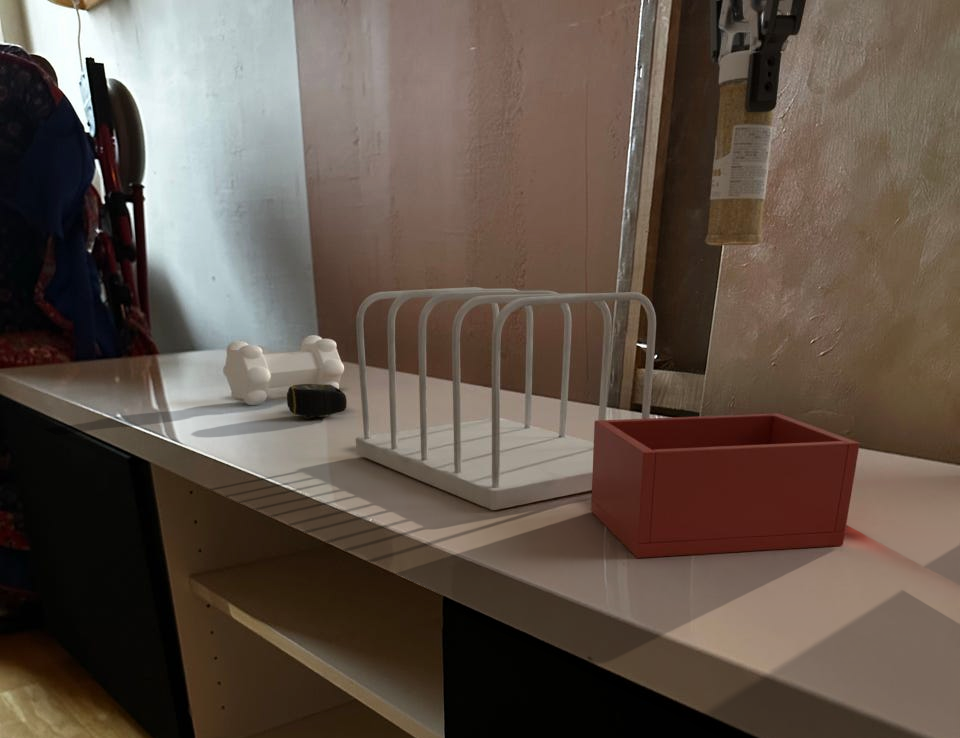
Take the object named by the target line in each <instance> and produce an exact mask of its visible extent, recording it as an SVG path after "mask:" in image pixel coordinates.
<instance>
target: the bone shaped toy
mask: <svg viewBox="0 0 960 738" xmlns="http://www.w3.org/2000/svg"><path fill="white" fill-rule="evenodd" d="M225 352H226V356H225V357H226V359H225V365H224V366H223V369H222V370H223V371H222V372H223V375H224V376H225V378H226V381H227V383H228V386H229V389H230V391H231V394H230V395H231V398H233V399H234V400H236V401H241V402H244V403H245V404H247V405H248V406H259V405H262V404H263V403H265V401H266V400H267V396H268V389H274V388H284V387H291V386H293V385H299V384H322V385H326V384H330V385H332V386H334V387H336V388H338V389H339V390H340V382H341V381H340V380H341V378H342V375H343V373H344V371H345V365H344V363H343V362H342V360H341V357H340V355H339V351H338V349H337V342H336V341H335V340H333V339H331V338H322V337H321V336H320V335H316V334H311V335H308V336H306V337H304V339H303V340H302V341H301V349H300V350H298V351H287V352H275V353H266V354H263V349H262V348H261V347H260V346H258V345H255V344H249V343H248V342H245V341H241V340H236V341H232V342H230V344H228V345H227V347H226V351H225Z"/></svg>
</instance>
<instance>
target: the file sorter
mask: <svg viewBox="0 0 960 738" xmlns="http://www.w3.org/2000/svg"><path fill="white" fill-rule="evenodd" d="M415 298H430V299H428V301H426V303H425V305H424V306H423V308H422V309H421V311H420V314H419V318H418V328H417V329H418V331H417V332H418V334H417V337H418V339H417V341H418V342H417V345H418V346H417V347H418V349H417V350H418V351H417V352H418V385H419V386H418V389H419V391H418V392H419V395H418V396H419V428H412V429H406V430H399V431H398V411H397V378H396V377H397V376H396V372H397V371H396V317H397V312H398V310H399V309H400V308H401V306H402V305H403V304H404V303H405V302H406V301H409V300H410V299H415ZM386 299H394V301H393V302H392V304H391V306H390V308H389V310H388V315H387V326H386V328H387V329H386V330H387V331H386V332H387V361H388V363H387V364H388V395H389V396H388V398H389V421H390V424H389V425H390V431H389V432H385V433H384V432H383V433H377V434H370V431H371V426H370V410H369V409H370V408H369V396H368V382H367V369H366V368H367V367H366V353H365V351H366V348H365V337H364V336H365V333H364V317H365V314H366V311H367V309H368V308H369V307H370V306H371V305H372V304H373V303H375V302H377V301H380V300H386ZM454 300H455V301H461V300H467V301H465V302H464V303H463V304H462V305H461V306H460V308H459V309H458V311H457V312H456V314H455V315H454V319H453V323H452V332H451V337H452V338H451V346H452V347H451V355H452V357H451V358H452V359H451V360H452V362H451V363H452V366H451V367H452V419H453V421H452V423H449V424H441V425H433V426H428V412H427V409H428V408H427V407H428V395H427V388H428V387H427V322H428V318H429V315H430V313H431V312H432V310H433V309H434V307H435V306H436V305H438V304H439V303H443V302H445V301H454ZM617 301H618V302H619V301H636V302H638V303H639V304H640V305H641V306H642V307H643V309H644V310H645V314H646V316H647V319H646V320H647V337H646V349H645V352H646V353H645V365H644V380H643V381H644V383H643V394H642V405H641V408H642V409H641V419H648V418H650V414H651V413H650V412H651V401H652V400H651V399H652V390H653V389H652V388H653V375H654V362H655V349H656V334H657V315H656V312H655V308H654V306H653V304H652V302H651V300H650V299H649V298H648V297H647V296H646V295H644V294H643V293H640V292H637V291H636V292H635V291H630V292H629V291H626V292H603V293H591V292H590V293H588V292H587V293H585V292H584V293H583V292H581V293H580V292H579V293H576V292H575V293H573V292H572V293H558V292H556V291H554V290H519V289H516V288H508V287H507V288H483V287H453V288H431V289H412V290H395V291H394V290H393V291H379V292H375V293H372V294H370V295H369V296H367V297H366V298H365V299H364V300H363V301H362V303H361V304H360V305H359V307H358V311H357V313H356V318H355V319H356V320H355V321H356V326H355V327H356V342H357V356H358V357H357V358H358V369H359V370H358V372H359V384H360V385H359V386H360V399H361V413H362V415H361V416H362V427H363V436H362V435H361V436H357V437H356V438H355V453H356V455H358V456H361V457H363V458H365V459H368V460H370V461H373V462H375V463H378V464H379V465H382V466H384V467H387V468H389V469H392V470H394V471H397V472H399V473H402V474H403V475H406V476H408V477H411V478H413V479H415V480H418V481H421V482H422V483H426V484H428V485H431V487H432V486H433V487H435V488H437V489H440V490H442V491H444V492H447V493H450V494H451V495H454V496H457V497H459V498H462V499H464V500H465V501H469V502H471V503H474V504H476V505H478V506H481V507H483V508H486V509H488V510H491V511H497V510H502V509H503V510H504V509H507V508H513V507H516V506H521V505H528V504H531V503H535V502H541V501H546V500H551V499H555V498H559V497H560V498H562V497H565V496H570V495H575V494H579V493H580V494H581V493H584V492H590V491H592V473H593V449H594V441H590V440H587V439H583V438H579V437H575V436H573V435H572V436H571V435H567V434H566V432H567V415H568V401H569V400H568V398H569V397H568V396H569V379H570V364H571V362H570V361H571V343H572V312H571V308H570V306H569V304H579V303H594V304H595V305H596V306H597V307H598V308H599V309H600V312H601V314H602V317H603V340H602V355H601V356H602V358H601V375H600V390H599V404H598V417H597V418H598V419H597V421H598V420H607V418H606V416H607V402H608V400H607V399H608V386H609V373H610V357H611V343H612V342H611V341H612V340H611V339H612V315H611V311H610V308H609V306H608V304H607V302H617ZM489 304H490V305H491V308H492V316H493V317H492V318H493V319H492V320H493V321H492V322H493V327H492V332H491V418H484V419H478V420H477V419H476V420H470V421H469V420H468V421H463V422H462V398H461V397H462V396H461V395H462V393H461V392H462V391H461V342H460V339H461V329H462V323H463V321H464V318H465V317H466V315H467V313H468V312H469V311H470V310H471V309H473V308H475V307H476V306H479V305H480V306H481V305H489ZM498 304H505V305H504V306H503V307H502V308H501V310H500V307H499V305H498ZM547 305H548V306H549V305H559V306H560V308H561V309H562V312H563V319H564V320H563V322H564V327H563V328H564V331H563V348H562V350H563V351H562V368H561V369H562V370H561V371H562V372H561V388H560V389H561V391H560V408H559V428H558V429H559V431H558V432H556V431H552V430H548V429H545V428H541V427H538V426H534V425H532V398H533V397H532V396H533V395H532V394H533V393H532V392H533V352H534V351H533V350H534V348H533V347H534V346H533V345H534V312H533V306H547ZM522 307H524V309H525V315H526V338H525V339H526V341H525V342H526V343H525V344H526V345H525V346H526V347H525V388H524V389H525V391H524V392H525V393H524V395H525V396H524V423H522V422H518V421H515V420H510V419H506V418H502V417H501V340H502V339H501V337H502V330H503V326H504V323H505V322H506V320H507V318H508V317H509V316H510V314H511V313H513V312H514V311H516V310H517V309H520V308H522Z"/></svg>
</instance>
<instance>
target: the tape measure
mask: <svg viewBox="0 0 960 738" xmlns="http://www.w3.org/2000/svg"><path fill="white" fill-rule="evenodd" d="M347 402H348V401H347V396H346V394H345V393H344V391H342V390H341V389H340V388H339V389H338V388H336V387H334V386H332V385H330V384H326V385H322V384H299V385H292V386H289V388H288V390H287V392H286V403H287V404H286V405H287V407H288V409H289V411H290V413H292V414H294V415H297V416H302V417H303V418H305V419H307V420H309V419H312V418H315V417H322V416H329V417H331V415H334V414H338V413H342V412H344V411H346V409H347Z"/></svg>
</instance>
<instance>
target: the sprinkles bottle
mask: <svg viewBox="0 0 960 738" xmlns="http://www.w3.org/2000/svg"><path fill="white" fill-rule="evenodd" d="M752 53H756V51H751V50H746V51H739V52H734V53H730V54H727V55H725V56H724V57H722V59H721V62H720V67H719V71H718V72H719V73H718V85H719V86H720V88H719V94H720V95H719V105H718V114H717V126H716V127H717V128H716V136H715V142H714V152H713V164H712V176H711V188H710V197H709V198H710V206H709V218H708V229H707V235H706V238H705V243H706V244H707V245H709V246H719V247H720V246H753V245H759V244H760V243H761V242H762V235H761V231H762V221H763V212H764V204H765V203H764V202H765V200H766V193H767V184H768V176H769V166H770V159H771V157H770V156H771V147H772V141H773V140H772V139H773V130H774V127H773V121H774V112H775V111H774V110H775V108H774V109H773V110H772V111H769V112H748V111H747V110H746V108H745V100H746V89H747V78H748V68H749V57H750V54H752ZM781 68H782V64H781V65H780V70H782V69H781ZM780 77H781V73H780V74H779V80H780Z"/></svg>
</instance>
